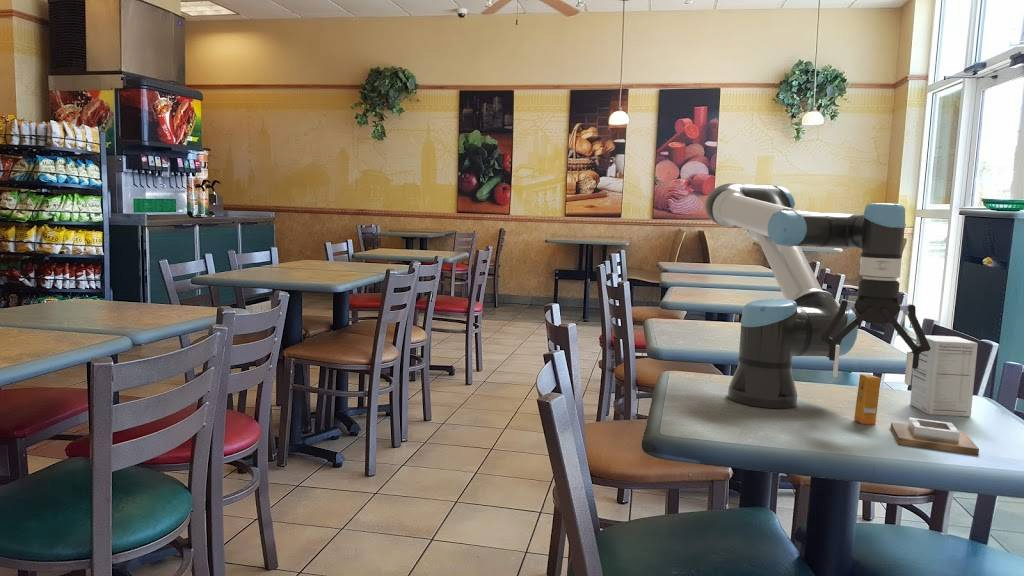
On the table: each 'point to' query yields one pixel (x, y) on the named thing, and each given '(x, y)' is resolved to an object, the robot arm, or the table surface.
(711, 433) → the table surface
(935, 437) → the collar
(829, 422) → the table surface
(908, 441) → the board
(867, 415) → the supplement box
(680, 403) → the table surface
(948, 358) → the supplement box
